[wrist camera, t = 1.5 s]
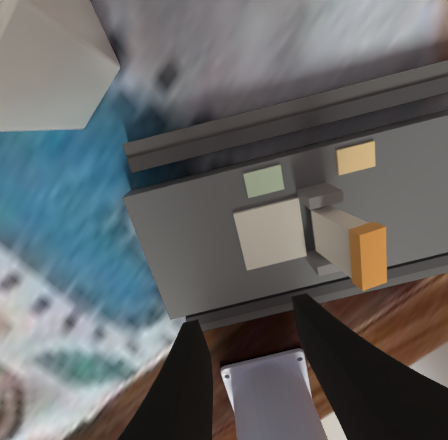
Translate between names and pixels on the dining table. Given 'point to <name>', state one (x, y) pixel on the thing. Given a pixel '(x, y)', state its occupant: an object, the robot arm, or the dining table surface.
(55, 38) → the jar
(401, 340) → the dining table surface
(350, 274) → the breaker lever
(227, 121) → the long dark grey rail
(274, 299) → the thin grey bar
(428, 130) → the toggle switch panel
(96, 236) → the dining table surface
